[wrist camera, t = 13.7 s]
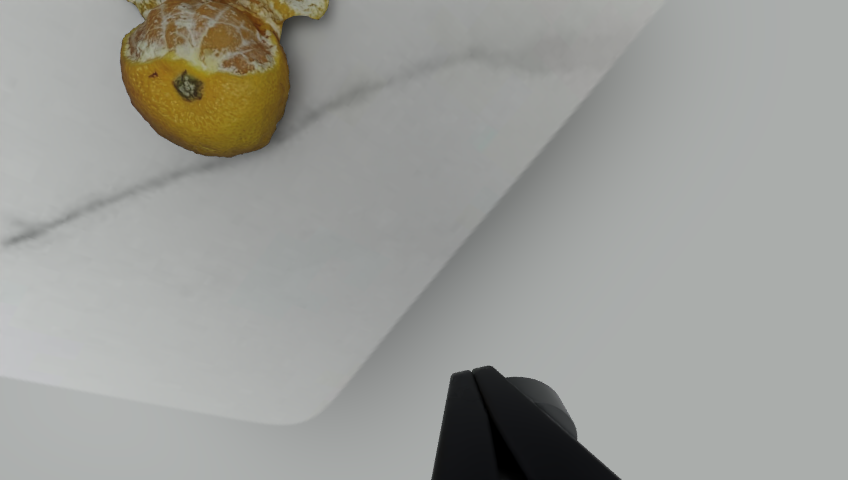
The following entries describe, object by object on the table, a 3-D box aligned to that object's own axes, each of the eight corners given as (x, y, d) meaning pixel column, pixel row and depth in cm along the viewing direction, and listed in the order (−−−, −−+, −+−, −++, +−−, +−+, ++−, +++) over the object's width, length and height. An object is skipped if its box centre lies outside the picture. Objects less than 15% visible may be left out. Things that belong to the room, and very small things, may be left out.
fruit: (330, -55, 16) (320, -84, 13) (322, 160, 19) (312, 181, 16) (89, -97, 15) (9, -142, 12) (123, 140, 18) (67, 160, 15)
